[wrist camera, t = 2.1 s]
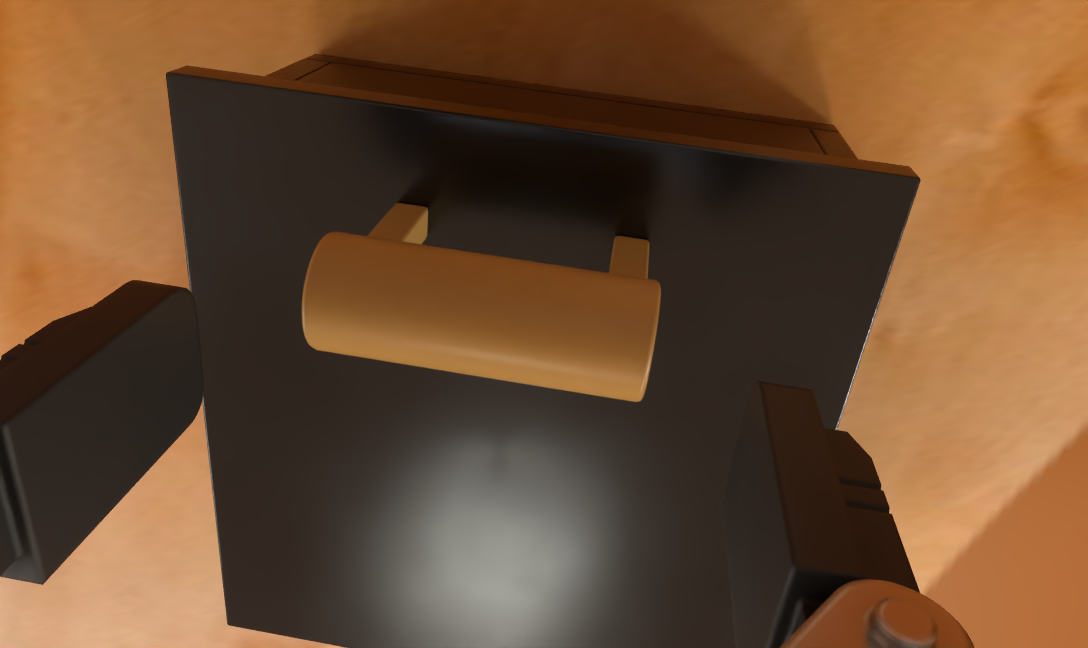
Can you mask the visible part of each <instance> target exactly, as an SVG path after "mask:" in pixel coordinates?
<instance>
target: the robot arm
mask: <svg viewBox="0 0 1088 648" xmlns="http://www.w3.org/2000/svg"><path fill="white" fill-rule="evenodd" d="M203 392H204V376H203V366H202V357H201V347H200V338H199V328H198V319H197V310H196V303H195V299H194V297H193V295H192V293H191V292H190V291H189V290H188V289H186V288H183V287H177V286H170V285H164V284H158V283H152V282H145V281H139V280H132V281H129V282H127V283H126V284H124V285H123V286H121V287H120V288H118V289H117V290H115V291H114V292H113V293H111V294H110V295H108V296H107V297H105V298H104V299H103V300H101V301H100V302H98V303H97V304H95V305H94V306H93V307H90V308H87V309H84V310H82V311H79V312H76V313H73V314H71V315H68V316H65V317H63V318H60V319H57V320H55V321H52V322H51V323H49V324H48V325H46V326H45V327H43V328H42V329H41V330H39V331H38V332H36V333H35V334H33V335H32V336H30V337H29V338H27V339H26V340H25V343H24V345H22V344H18V345H17V346H15V347H14V348H12V349H11V350H9V351H8V352H7V353H5V354H4V355H2V358H1V360H0V577H5V578H11V579H16V580H21V581H26V582H32V583H37V584H42V585H43V584H44V583H45V582H46V581H47V580H48V578H49V577H50V576H51V575H52V574H53V573H54V572H55V571H56V570H57V569H58V568H59V567H60V565H61V564H62V563H63V562H64V561H65V560H66V559H67V558H68V557H69V556H70V555H71V553H72V552H73V551H74V550H75V549H76V548H77V547H78V546H79V545H80V544H81V543H82V542H83V540H84V539H85V538H86V537H87V536H88V535H89V534H90V533H91V532H92V531H93V530H94V529H95V527H96V526H97V525H98V524H99V523H100V522H101V521H102V520H103V519H104V518H105V517H106V516H107V514H108V513H109V512H110V511H111V510H112V509H113V508H114V507H115V506H116V505H117V504H118V503H119V501H120V500H121V499H122V498H123V497H124V496H125V495H126V494H127V493H128V492H129V491H130V489H131V488H132V487H133V486H134V485H135V484H136V483H137V482H138V481H139V480H140V479H141V478H142V476H143V475H144V474H145V473H146V472H147V471H148V470H149V469H150V468H151V467H152V466H153V465H154V463H155V462H156V461H157V460H158V459H159V458H160V457H161V456H162V455H163V454H164V453H165V452H166V450H167V449H168V448H169V447H170V446H171V445H172V444H173V443H174V442H175V441H176V440H177V439H178V437H179V436H180V435H181V434H182V433H183V432H184V431H185V430H186V429H187V428H188V427H189V425H190V424H191V423H192V422H193V420H194V419H195V417H196V415H197V413H198V411H199V408H200V406H201V402H202V398H203ZM724 518H725V530H726V542H727V553H728V565H729V576H730V588H731V600H732V611H733V623H734V635H735V646H736V648H974V646H973V643H972V641H971V639H970V637H969V636H968V634H967V633H966V631H965V630H964V629H963V627H962V626H961V625H960V623H959V622H958V621H957V620H956V619H955V618H954V617H953V616H952V615H951V614H950V613H949V612H947V611H946V610H945V609H944V608H943V607H941V606H940V605H938V604H937V603H936V602H934V601H933V600H931V599H930V598H928V597H926V596H924V595H923V594H921V593H920V591H919V588H918V586H917V583H916V580H915V577H914V575H913V572H912V569H911V566H910V563H909V561H908V558H907V555H906V552H905V550H904V547H903V544H902V541H901V538H900V536H899V533H898V530H897V527H896V525H895V522H894V519H893V516H892V514H889V505H888V502H887V500H886V497H885V494H884V491H882V490H881V483H880V480H879V477H878V475H877V472H876V469H875V466H874V463H873V461H872V458H871V457H870V456H869V455H868V454H867V453H866V452H865V450H864V449H863V448H862V447H861V446H860V445H859V444H858V443H857V442H856V441H855V440H854V439H853V438H852V437H851V435H850V434H849V433H848V432H845V431H839V430H833V429H826V428H824V426H823V423H822V420H821V416H820V413H819V409H818V406H817V402H816V399H815V395H814V393H813V391H812V390H811V389H806V388H800V387H793V386H787V385H781V384H775V383H768V382H762V381H756V382H755V383H754V384H753V386H752V389H751V392H750V395H749V398H748V402H747V406H746V409H745V413H744V417H743V421H742V425H741V428H740V432H739V436H738V440H737V444H736V447H735V451H734V455H733V459H732V463H731V466H730V470H729V474H728V479H727V485H726V493H725V505H724Z"/></svg>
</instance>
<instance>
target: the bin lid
mask: <svg viewBox="0 0 1088 648" xmlns="http://www.w3.org/2000/svg"><path fill="white" fill-rule="evenodd" d="M166 79H167V88H168V97H169V106H170V115H171V124H172V133H173V142H174V151H175V160H176V169H177V178H178V187H179V196H180V204H181V213H182V222H183V231H184V240H185V249H186V258H187V267H188V276H189V285H190V292H191V293H192V295H193V297H194V299H195V303H196V310H197V319H198V328H199V338H200V347H201V357H202V366H203V376H204V392H203V398H202V401H203V410H204V419H205V428H206V437H207V446H208V454H209V463H210V472H211V481H212V490H213V499H214V508H215V517H216V526H217V535H218V544H219V553H220V562H221V571H222V580H223V588H224V597H225V606H226V615H227V624H228V625H230V626H235V627H241V628H246V629H251V630H256V631H262V632H267V633H272V634H278V635H283V636H288V637H294V638H299V639H304V640H309V641H315V642H320V643H325V644H331V645H336V646H341V647H346V648H736V646H735V635H734V623H733V611H732V600H731V588H730V576H729V565H728V553H727V542H726V530H725V518H724V505H725V493H726V485H727V479H728V474H729V470H730V466H731V463H732V459H733V455H734V451H735V447H736V444H737V440H738V436H739V432H740V428H741V425H742V421H743V417H744V413H745V409H746V406H747V402H748V398H749V395H750V392H751V389H752V386H753V384H754V383H755V382H756V381H762V382H768V383H775V384H781V385H787V386H793V387H800V388H806V389H811V390H812V391H813V393H814V395H815V399H816V402H817V406H818V409H819V413H820V416H821V420H822V423H823V426H824V428H826V429H833V430H837V428H838V425H839V422H840V419H841V416H842V413H843V410H844V407H845V404H846V401H847V398H848V395H849V392H850V389H851V386H852V383H853V380H854V377H855V374H856V371H857V368H858V365H859V362H860V359H861V356H862V353H863V350H864V347H865V344H866V341H867V338H868V335H869V332H870V329H871V326H872V323H873V320H874V318H875V315H876V312H877V309H878V306H879V303H880V300H881V297H882V294H883V291H884V288H885V285H886V282H887V279H888V276H889V273H890V270H891V267H892V264H893V261H894V258H895V255H896V252H897V249H898V246H899V243H900V240H901V237H902V234H903V231H904V228H905V225H906V222H907V219H908V216H909V213H910V210H911V207H912V204H913V201H914V198H915V196H916V193H917V190H918V187H919V184H920V178H919V176H918V175H917V174H916V173H915V172H914V171H913V170H912V169H911V168H910V167H909V166H902V165H895V164H888V163H880V162H873V161H866V160H859V159H852V158H845V157H838V156H830V155H823V154H816V153H809V152H802V151H795V150H787V149H780V148H773V147H766V146H759V145H752V144H744V143H737V142H730V141H723V140H716V139H709V138H701V137H694V136H687V135H680V134H673V133H666V132H658V131H651V130H644V129H637V128H630V127H623V126H615V125H608V124H601V123H594V122H587V121H580V120H573V119H565V118H558V117H551V116H544V115H537V114H530V113H522V112H515V111H508V110H501V109H494V108H487V107H479V106H472V105H465V104H458V103H451V102H444V101H436V100H429V99H422V98H415V97H408V96H401V95H393V94H386V93H379V92H372V91H365V90H358V89H350V88H343V87H336V86H329V85H322V84H315V83H308V82H300V81H293V80H286V79H279V78H272V77H265V76H257V75H250V74H243V73H236V72H229V71H222V70H214V69H207V68H200V67H193V66H184V67H181V68H179V69H176V70H173V71H170V72H167V73H166Z"/></svg>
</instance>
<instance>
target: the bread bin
mask: <svg viewBox="0 0 1088 648" xmlns="http://www.w3.org/2000/svg"><path fill="white" fill-rule="evenodd" d="M265 77H272V78H279V79H286V80H293V81H300V82H308V83H315V84H322V85H329V86H336V87H343V88H350V89H358V90H365V91H372V92H379V93H386V94H393V95H401V96H408V97H415V98H422V99H429V100H436V101H444V102H451V103H458V104H465V105H472V106H479V107H487V108H494V109H501V110H508V111H515V112H522V113H530V114H537V115H544V116H551V117H558V118H565V119H573V120H580V121H587V122H594V123H601V124H608V125H615V126H623V127H630V128H637V129H644V130H651V131H658V132H666V133H673V134H680V135H687V136H694V137H701V138H709V139H716V140H723V141H730V142H737V143H744V144H752V145H759V146H766V147H773V148H780V149H787V150H795V151H802V152H809V153H816V154H823V155H830V156H838V157H845V158H852V159H858V158H857V157H856V155H855V154H854V153H853V151H852V150H851V148H850V147H849V146H848V144H847V143H846V141H845V140H844V139H843V137H842V136H841V134H840V133H839V131H838V130H837V128H836V127H835V126H834V125H830V124H823V123H816V122H808V121H801V120H794V119H786V118H779V117H772V116H764V115H757V114H750V113H743V112H735V111H728V110H721V109H713V108H706V107H699V106H691V105H684V104H677V103H670V102H662V101H655V100H648V99H640V98H633V97H626V96H618V95H611V94H604V93H597V92H589V91H582V90H575V89H567V88H560V87H553V86H545V85H538V84H531V83H524V82H516V81H509V80H502V79H494V78H487V77H480V76H473V75H465V74H458V73H451V72H443V71H436V70H429V69H421V68H414V67H407V66H400V65H392V64H385V63H378V62H370V61H363V60H356V59H348V58H341V57H334V56H327V55H319V54H314V55H312V56H310V57H307V58H305V59H302V60H300V61H298V62H295V63H293V64H291V65H289V66H287V67H284V68H282V69H280V70H278V71H275V72H273V73H271V74H269V75H266V76H265Z"/></svg>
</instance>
